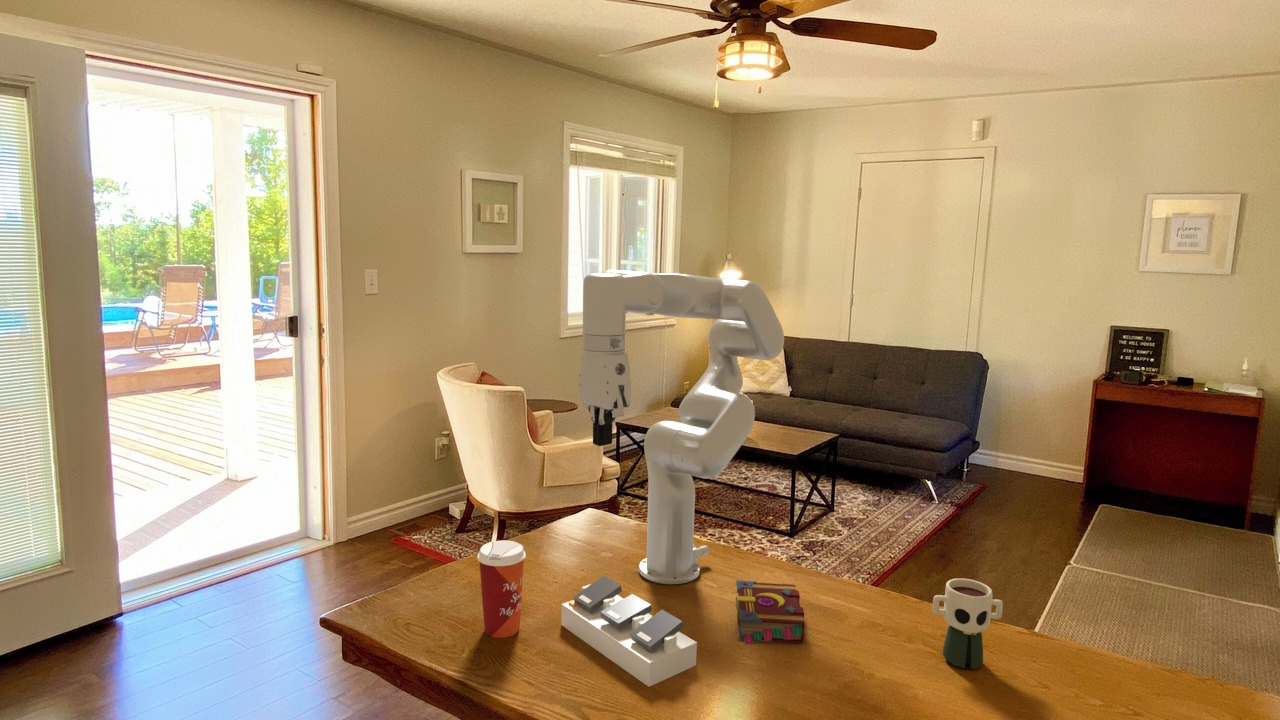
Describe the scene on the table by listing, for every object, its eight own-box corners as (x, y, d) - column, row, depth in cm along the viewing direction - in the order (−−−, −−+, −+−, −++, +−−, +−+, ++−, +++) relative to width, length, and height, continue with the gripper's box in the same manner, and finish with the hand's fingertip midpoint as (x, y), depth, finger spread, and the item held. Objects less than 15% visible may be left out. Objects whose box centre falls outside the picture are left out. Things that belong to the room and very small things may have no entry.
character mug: (933, 669, 126) (939, 594, 124) (923, 647, 133) (929, 575, 131) (1003, 676, 125) (1011, 600, 123) (990, 652, 132) (997, 580, 130)
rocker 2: (663, 616, 129) (661, 608, 129) (684, 628, 125) (682, 621, 125) (631, 641, 125) (629, 633, 125) (652, 654, 121) (650, 646, 121)
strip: (596, 602, 147) (597, 571, 146) (696, 665, 126) (697, 629, 125) (552, 618, 140) (552, 586, 139) (648, 686, 120) (649, 649, 119)
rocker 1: (605, 582, 141) (603, 574, 141) (622, 592, 137) (620, 585, 137) (574, 603, 138) (572, 596, 137) (592, 615, 134) (589, 607, 133)
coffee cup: (516, 644, 131) (515, 560, 129) (470, 638, 133) (469, 555, 131) (532, 620, 139) (532, 541, 137) (489, 615, 141) (488, 536, 139)
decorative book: (795, 605, 148) (796, 580, 147) (806, 650, 132) (807, 623, 131) (734, 602, 149) (736, 577, 148) (738, 646, 133) (739, 619, 132)
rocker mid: (633, 601, 135) (632, 593, 135) (652, 612, 132) (651, 604, 131) (601, 619, 131) (599, 611, 131) (620, 631, 127) (618, 623, 127)
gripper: (647, 347, 135) (645, 450, 138) (595, 337, 146) (594, 432, 149) (612, 350, 130) (611, 457, 133) (562, 340, 141) (561, 438, 144)
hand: (602, 443), depth 141 cm, fingers closed
